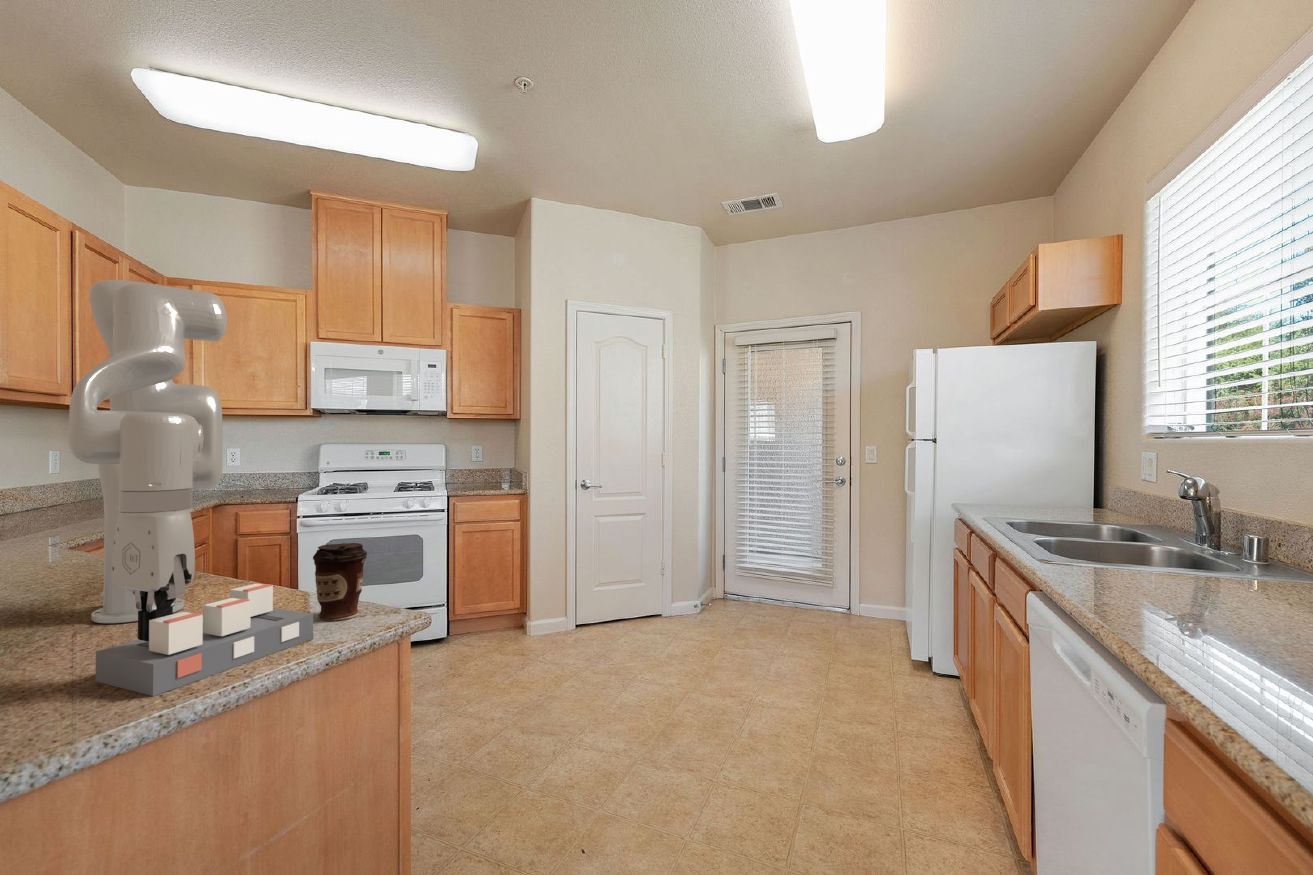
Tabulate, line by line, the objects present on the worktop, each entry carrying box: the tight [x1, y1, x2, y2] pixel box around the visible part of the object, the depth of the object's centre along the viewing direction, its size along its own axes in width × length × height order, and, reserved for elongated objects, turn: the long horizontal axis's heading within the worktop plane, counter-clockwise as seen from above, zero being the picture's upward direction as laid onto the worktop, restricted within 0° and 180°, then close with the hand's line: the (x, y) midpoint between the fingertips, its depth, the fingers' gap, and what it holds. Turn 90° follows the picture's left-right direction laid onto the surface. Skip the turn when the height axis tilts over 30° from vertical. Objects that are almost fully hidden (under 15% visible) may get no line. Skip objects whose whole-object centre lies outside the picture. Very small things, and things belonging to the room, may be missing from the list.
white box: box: [149, 611, 203, 655], centre depth 76 cm, size 4×4×4 cm
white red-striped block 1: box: [202, 597, 251, 636], centre depth 83 cm, size 4×4×4 cm
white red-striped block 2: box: [229, 583, 274, 617], centre depth 91 cm, size 4×4×4 cm
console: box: [95, 607, 314, 697], centre depth 84 cm, size 12×22×4 cm, turn 160°
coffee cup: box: [312, 542, 368, 621], centre depth 103 cm, size 9×8×13 cm
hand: (155, 637), depth 77 cm, fingers closed
